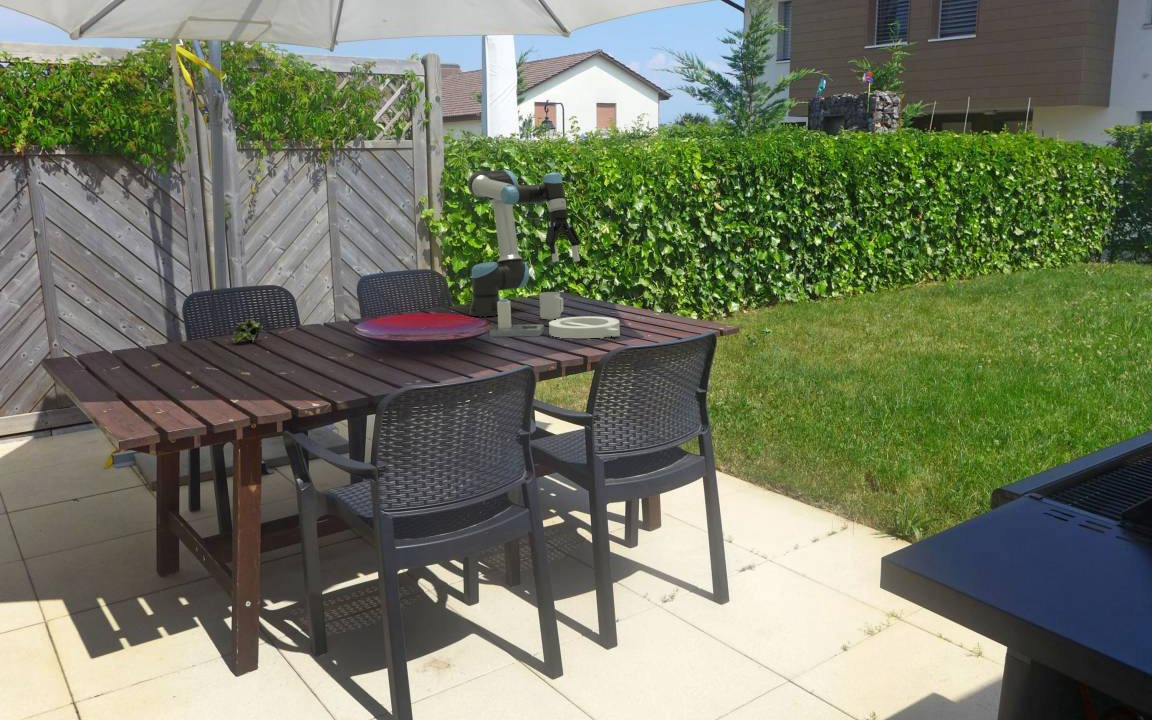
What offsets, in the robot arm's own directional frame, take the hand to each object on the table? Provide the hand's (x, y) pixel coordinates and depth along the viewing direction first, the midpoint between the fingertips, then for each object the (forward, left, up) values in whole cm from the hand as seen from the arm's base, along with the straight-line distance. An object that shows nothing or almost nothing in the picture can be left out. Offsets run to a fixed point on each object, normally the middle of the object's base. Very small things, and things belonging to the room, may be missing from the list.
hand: (566, 261), depth 385 cm
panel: (+18, -19, -27) cm, 37 cm away
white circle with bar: (+18, +8, -27) cm, 34 cm away
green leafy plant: (+33, -124, -27) cm, 131 cm away
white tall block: (+18, -24, -27) cm, 40 cm away
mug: (-17, -9, -27) cm, 33 cm away
